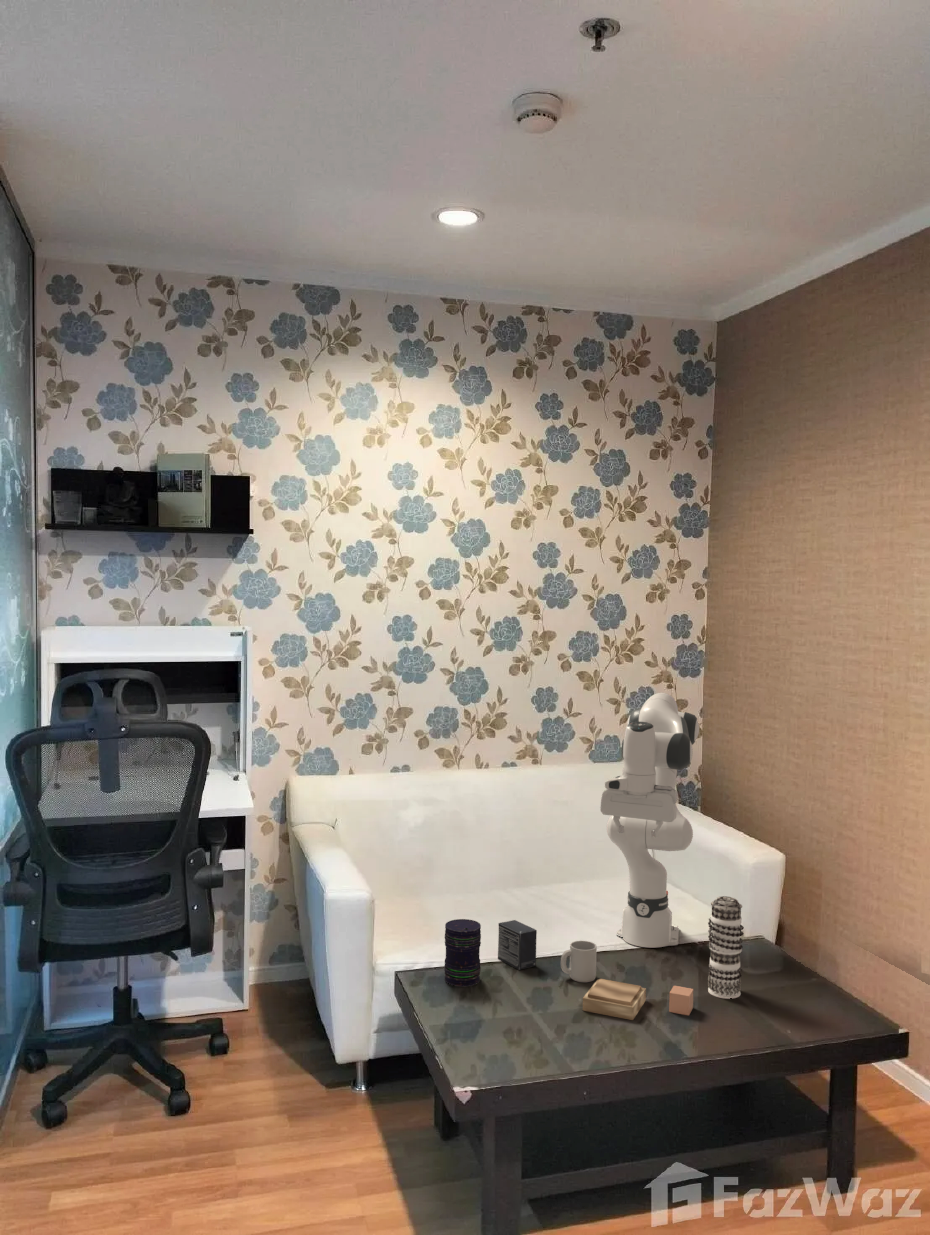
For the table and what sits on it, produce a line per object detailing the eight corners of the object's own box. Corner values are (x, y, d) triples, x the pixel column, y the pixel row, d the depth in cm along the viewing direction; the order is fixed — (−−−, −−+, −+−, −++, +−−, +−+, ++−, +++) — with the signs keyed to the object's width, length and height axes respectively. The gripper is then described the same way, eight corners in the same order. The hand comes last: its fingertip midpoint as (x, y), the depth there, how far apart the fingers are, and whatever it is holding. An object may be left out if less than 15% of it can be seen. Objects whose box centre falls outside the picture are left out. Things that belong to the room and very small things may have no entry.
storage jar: (439, 974, 277) (440, 920, 276) (473, 970, 280) (474, 917, 279) (450, 988, 267) (451, 933, 266) (485, 984, 270) (486, 929, 270)
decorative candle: (699, 992, 267) (702, 899, 266) (717, 982, 274) (719, 891, 273) (731, 1002, 261) (733, 907, 260) (748, 992, 268) (750, 899, 267)
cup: (599, 981, 273) (600, 949, 273) (564, 984, 271) (564, 951, 271) (591, 971, 280) (591, 940, 280) (556, 973, 278) (557, 942, 278)
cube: (673, 1004, 259) (673, 985, 259) (692, 1008, 257) (693, 988, 257) (669, 1012, 255) (669, 992, 255) (688, 1015, 253) (689, 996, 252)
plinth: (597, 991, 267) (597, 976, 266) (645, 1000, 261) (646, 985, 261) (582, 1010, 255) (582, 994, 255) (632, 1020, 249) (633, 1004, 249)
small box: (537, 966, 284) (538, 929, 283) (519, 971, 280) (519, 933, 279) (514, 954, 292) (515, 918, 292) (496, 958, 289) (497, 922, 288)
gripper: (680, 785, 268) (678, 836, 269) (605, 777, 277) (604, 827, 277) (674, 789, 262) (673, 841, 263) (599, 781, 271) (597, 832, 271)
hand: (637, 834), depth 270 cm, fingers open, 8 cm apart
